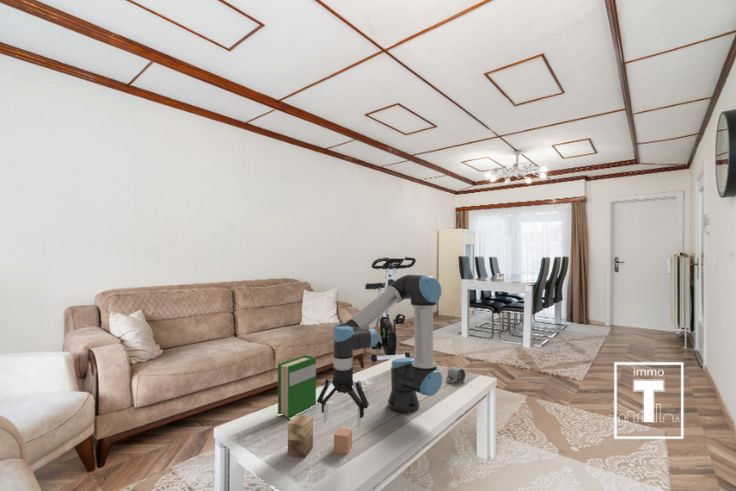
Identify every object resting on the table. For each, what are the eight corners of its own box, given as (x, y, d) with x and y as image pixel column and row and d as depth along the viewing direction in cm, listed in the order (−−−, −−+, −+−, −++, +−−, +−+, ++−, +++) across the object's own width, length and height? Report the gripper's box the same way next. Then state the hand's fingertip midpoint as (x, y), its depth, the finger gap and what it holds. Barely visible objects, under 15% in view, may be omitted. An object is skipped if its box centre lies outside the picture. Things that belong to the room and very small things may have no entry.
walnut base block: (312, 448, 139) (312, 432, 139) (305, 458, 132) (305, 441, 132) (296, 445, 141) (296, 430, 141) (287, 455, 134) (287, 439, 134)
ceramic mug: (455, 377, 218) (454, 364, 218) (465, 381, 211) (465, 367, 211) (442, 381, 212) (442, 368, 212) (453, 385, 205) (453, 371, 205)
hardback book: (289, 420, 162) (289, 366, 163) (277, 416, 166) (278, 363, 167) (315, 406, 177) (315, 357, 177) (304, 403, 181) (304, 355, 182)
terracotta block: (352, 446, 140) (352, 429, 140) (347, 454, 135) (347, 436, 135) (338, 444, 142) (338, 427, 142) (333, 452, 136) (333, 434, 136)
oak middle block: (312, 432, 139) (312, 417, 139) (305, 442, 132) (305, 425, 132) (296, 430, 141) (296, 415, 141) (287, 439, 134) (287, 423, 134)
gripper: (376, 367, 139) (376, 423, 139) (316, 362, 146) (316, 415, 145) (371, 373, 132) (371, 432, 131) (309, 367, 139) (308, 423, 138)
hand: (342, 423), depth 138 cm, fingers open, 13 cm apart
